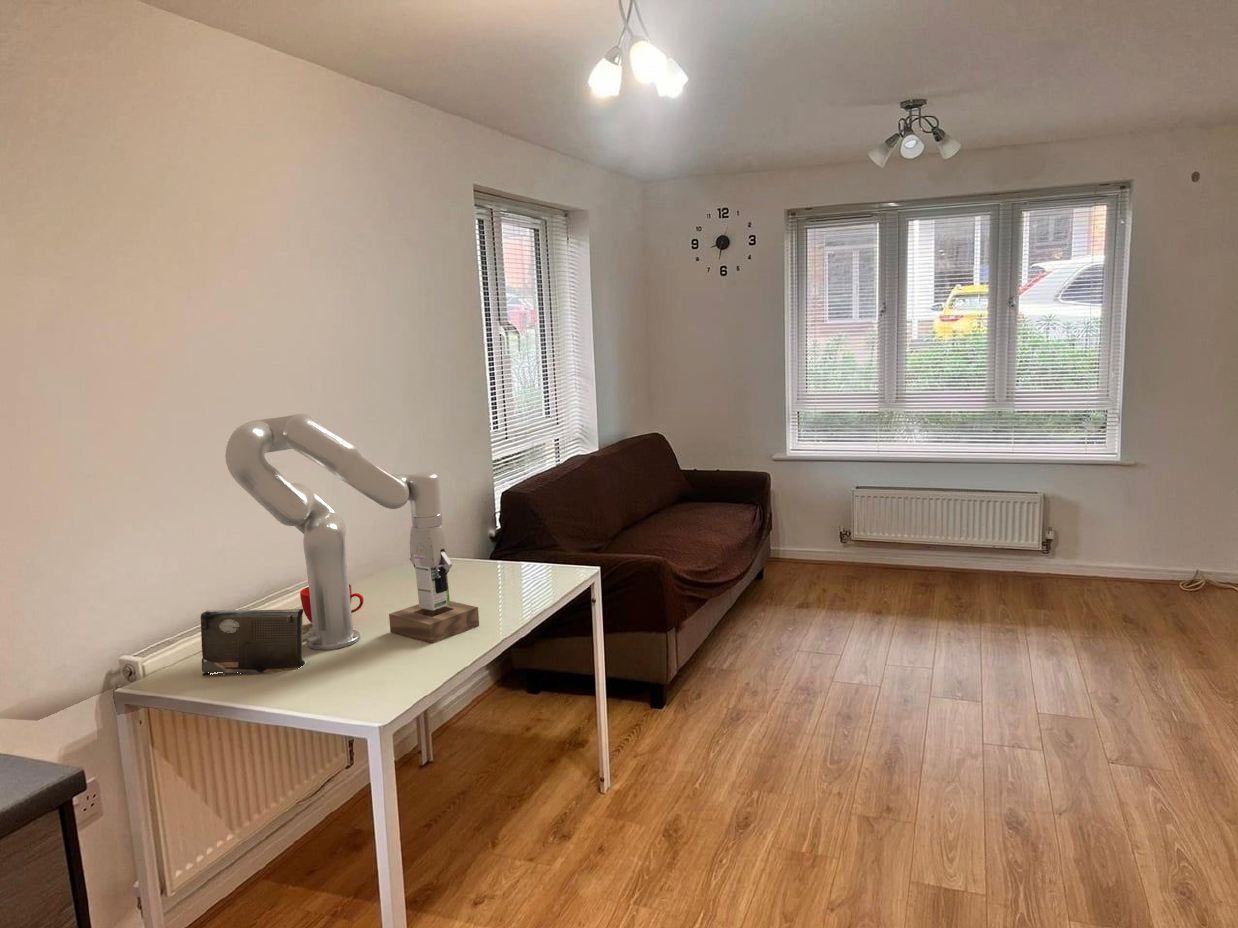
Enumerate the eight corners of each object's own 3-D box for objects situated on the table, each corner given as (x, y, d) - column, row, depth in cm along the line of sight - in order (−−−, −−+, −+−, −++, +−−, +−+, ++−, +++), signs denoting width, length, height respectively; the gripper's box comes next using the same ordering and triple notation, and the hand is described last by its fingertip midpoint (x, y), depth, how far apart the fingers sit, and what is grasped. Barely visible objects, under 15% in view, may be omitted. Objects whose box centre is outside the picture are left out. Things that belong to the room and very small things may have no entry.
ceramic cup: (353, 634, 225) (349, 596, 223) (293, 632, 228) (290, 595, 227) (376, 618, 237) (373, 582, 236) (320, 616, 241) (316, 581, 239)
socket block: (431, 643, 215) (429, 624, 214) (390, 632, 225) (389, 613, 224) (479, 625, 227) (478, 607, 227) (438, 615, 237) (437, 597, 236)
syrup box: (433, 611, 221) (428, 555, 219) (418, 607, 225) (413, 553, 223) (450, 605, 226) (446, 550, 224) (435, 601, 229) (430, 548, 227)
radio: (313, 660, 207) (308, 600, 205) (300, 674, 199) (294, 611, 196) (216, 664, 207) (209, 603, 205) (199, 678, 199) (191, 615, 197)
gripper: (393, 521, 224) (400, 589, 227) (438, 527, 214) (444, 598, 216) (417, 515, 230) (422, 582, 233) (461, 521, 220) (466, 591, 222)
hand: (433, 589), depth 225 cm, fingers closed on syrup box, 5 cm apart
